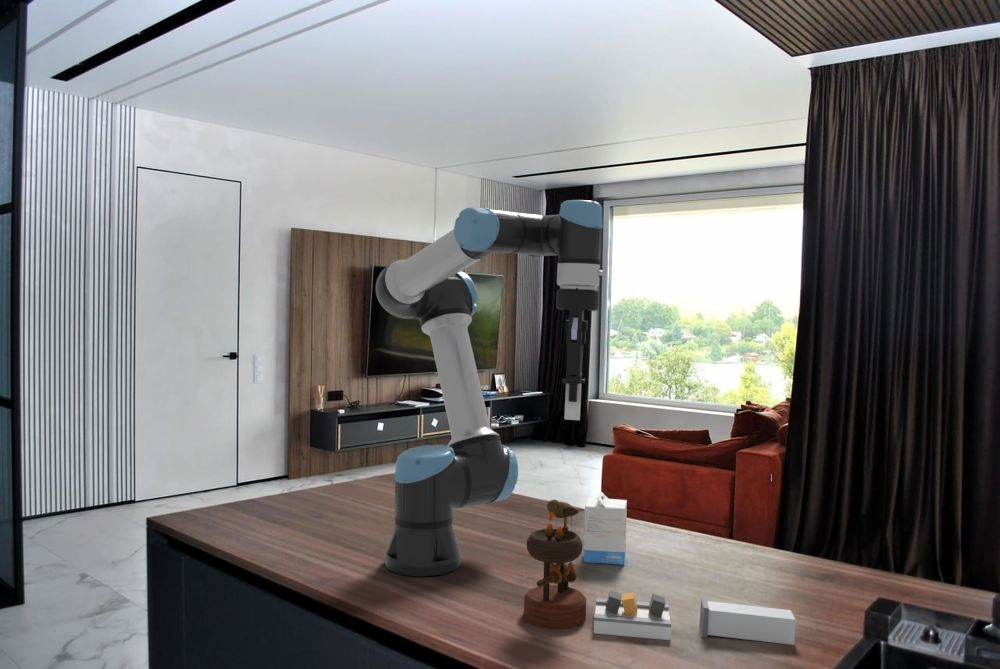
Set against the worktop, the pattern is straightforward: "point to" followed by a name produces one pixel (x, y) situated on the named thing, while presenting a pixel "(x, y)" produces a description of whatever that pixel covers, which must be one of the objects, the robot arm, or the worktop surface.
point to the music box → (556, 574)
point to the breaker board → (632, 622)
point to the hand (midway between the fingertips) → (572, 419)
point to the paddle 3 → (656, 605)
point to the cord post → (747, 622)
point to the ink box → (605, 530)
